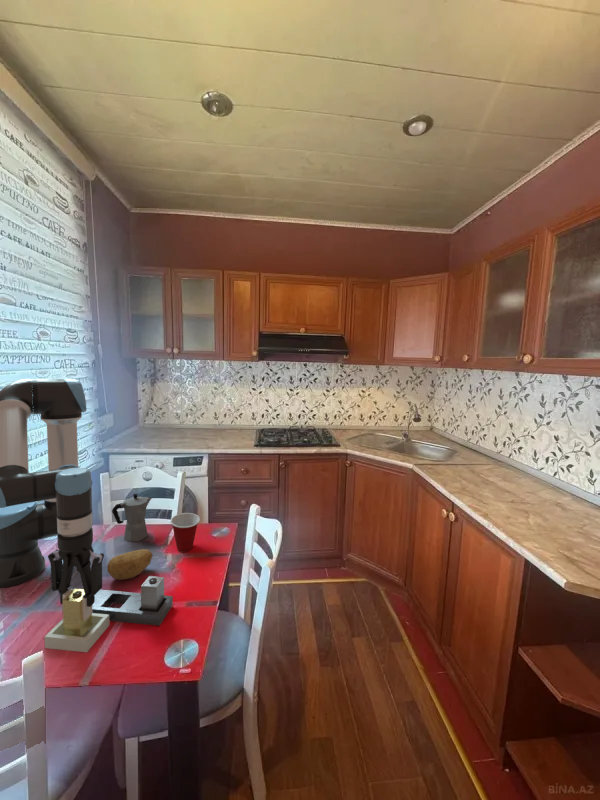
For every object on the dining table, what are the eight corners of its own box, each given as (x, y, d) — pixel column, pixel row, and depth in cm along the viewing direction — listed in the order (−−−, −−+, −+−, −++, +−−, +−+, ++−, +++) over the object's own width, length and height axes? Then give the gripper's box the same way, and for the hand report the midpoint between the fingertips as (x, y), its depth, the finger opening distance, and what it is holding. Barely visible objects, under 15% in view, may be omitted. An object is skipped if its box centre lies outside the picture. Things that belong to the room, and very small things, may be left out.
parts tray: (45, 648, 86) (44, 636, 86) (71, 621, 95) (71, 611, 95) (86, 652, 85) (86, 640, 85) (109, 625, 94) (109, 614, 94)
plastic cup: (178, 559, 127) (178, 528, 125) (165, 547, 134) (165, 518, 133) (205, 548, 134) (205, 519, 133) (191, 538, 142) (191, 510, 141)
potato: (157, 574, 117) (157, 552, 116) (111, 591, 108) (111, 567, 107) (147, 561, 124) (147, 540, 124) (103, 576, 115) (103, 554, 114)
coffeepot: (146, 527, 150) (146, 487, 148) (156, 534, 143) (156, 493, 141) (108, 539, 138) (107, 496, 136) (117, 548, 132) (116, 503, 130)
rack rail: (76, 617, 97) (76, 607, 96) (95, 598, 105) (95, 589, 104) (159, 625, 95) (159, 615, 95) (172, 605, 103) (172, 596, 103)
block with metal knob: (76, 623, 92) (75, 587, 91) (92, 625, 92) (91, 588, 91) (63, 636, 88) (62, 598, 87) (80, 638, 88) (79, 600, 87)
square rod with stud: (141, 619, 97) (141, 584, 96) (149, 607, 102) (149, 574, 100) (156, 620, 97) (156, 585, 96) (164, 609, 101) (164, 575, 100)
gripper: (30, 534, 84) (34, 623, 87) (98, 540, 83) (101, 629, 85) (54, 521, 92) (57, 602, 94) (117, 525, 90) (119, 608, 93)
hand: (78, 615), depth 90 cm, fingers closed on block with metal knob, 4 cm apart
